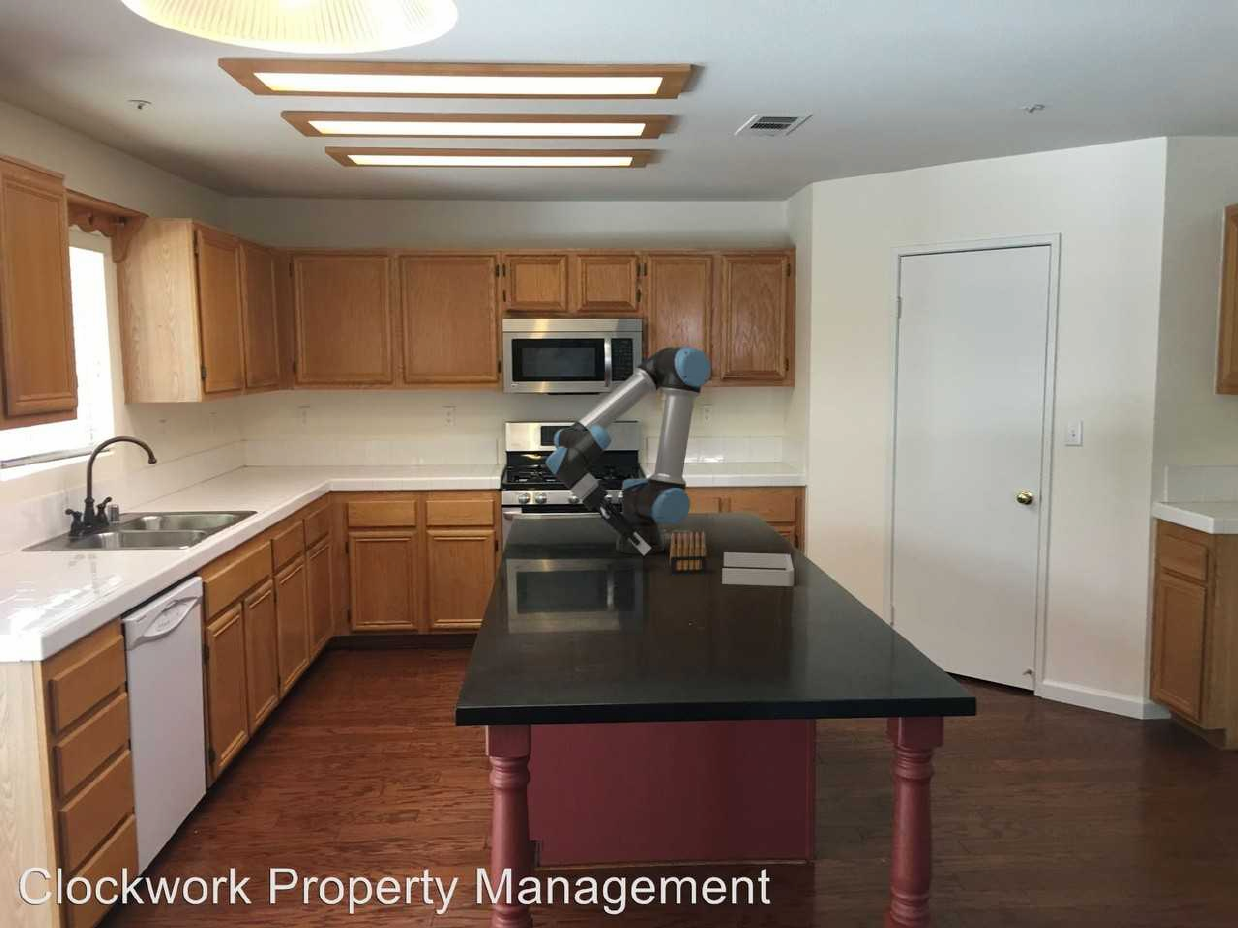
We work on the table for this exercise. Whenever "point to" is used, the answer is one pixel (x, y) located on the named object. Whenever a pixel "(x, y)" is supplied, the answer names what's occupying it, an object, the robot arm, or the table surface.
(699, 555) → the ammunition clip
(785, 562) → the box
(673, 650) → the table surface
